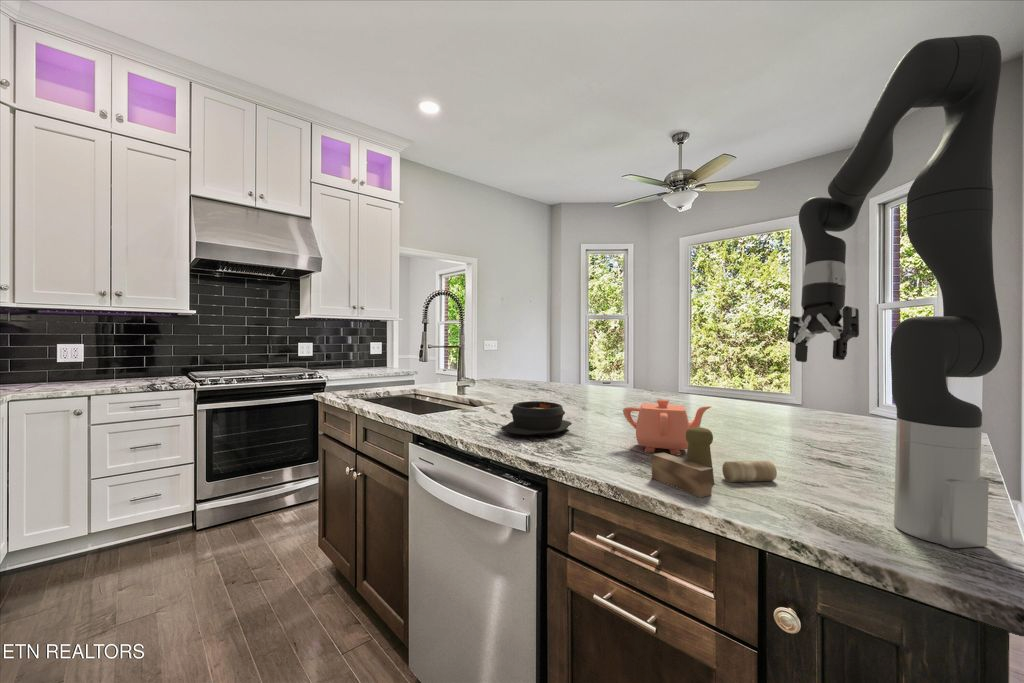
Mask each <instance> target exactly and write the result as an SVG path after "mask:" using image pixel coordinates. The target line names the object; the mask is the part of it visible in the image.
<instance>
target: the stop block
mask: <svg viewBox="0 0 1024 683" xmlns="http://www.w3.org/2000/svg"><path fill="white" fill-rule="evenodd" d="M651 454H652V456H651V457H652V458H651V479H653V478H654V479H653V480H655V479H656V481H658V482H660V481H661V483H663V484H665V483H666V484H665V485H668V484H669V485H668V486H670V485H672V486H671V487H673V486H674V487H673V488H675V487H677V488H676V489H678V488H679V489H678V490H680V489H682V490H681V491H683V490H684V491H683V492H685V491H687V492H686V493H688V492H689V493H688V494H690V493H691V494H690V495H693V496H695V495H696V496H695V497H698V498H705V497H704V496H706V497H709V495H710V496H712V489H713V488H712V486H713V485H712V473H713V474H714V467H713V468H710V467H707V466H704V465H701V464H698V463H695V462H692V461H688V460H686V458H682V457H679V456H677V455H673V454H671V453H670V454H669V453H666V452H659V453H651Z"/></svg>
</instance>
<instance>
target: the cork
mask: <svg viewBox="0 0 1024 683" xmlns="http://www.w3.org/2000/svg"><path fill="white" fill-rule="evenodd" d="M686 440H687V442H688V449H686V455H685V456H686V457H685V460H688V461H692V462H695V463H698V464H701V465H704V466H707V467H710V468H713V469H714V467H713V460H712V452H711V444H712V443H713V441H714V435H713V433H712V431H711V430H710V429H709V428H706V427H705V428H704V427H701V426H700V427H692V428H689V429H688V430H687V431H686ZM714 476H715V475H714V472H713V473H712V486H714V485H715V477H714ZM713 484H714V485H713Z"/></svg>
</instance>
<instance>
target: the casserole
mask: <svg viewBox="0 0 1024 683" xmlns="http://www.w3.org/2000/svg"><path fill="white" fill-rule="evenodd" d="M509 412H510V414H511V416H512V421H511V422H509V423H507V424H505V425H502V426H501V427H500V430H501V431H504V432H507V433H509V434H514V435H515V434H516V435H521V436H522V435H524V436H534V435H544V436H550V435H554V434H557V433H560V432H563V431H566V430H567V429H568V428H569V427H570V426H571V425H573V423H572V422H570V420H564V419H563V417H564V415H565V414H566V411H565V410H564V409H563V405H562V404H559V403H556V402H549V401H539V400H537V401H535V400H531V401H530V400H529V401H521V402H517V403H514V404H513V405H512V408H511V409H510V410H509Z"/></svg>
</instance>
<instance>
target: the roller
mask: <svg viewBox="0 0 1024 683" xmlns="http://www.w3.org/2000/svg"><path fill="white" fill-rule="evenodd" d="M721 471H722V475H723V477H724V479H725V481H727V482H729V481H730V483H740V482H743V483H745V481H746V482H767V481H769V482H771V481H775V480H776V478H777V475H778V473H777V467H776V466H775V464H774V463H773V462H772V461H771V460H752V461H751V460H748V461H743V460H742V461H725V462H724V463H723V464H722V469H721Z"/></svg>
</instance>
